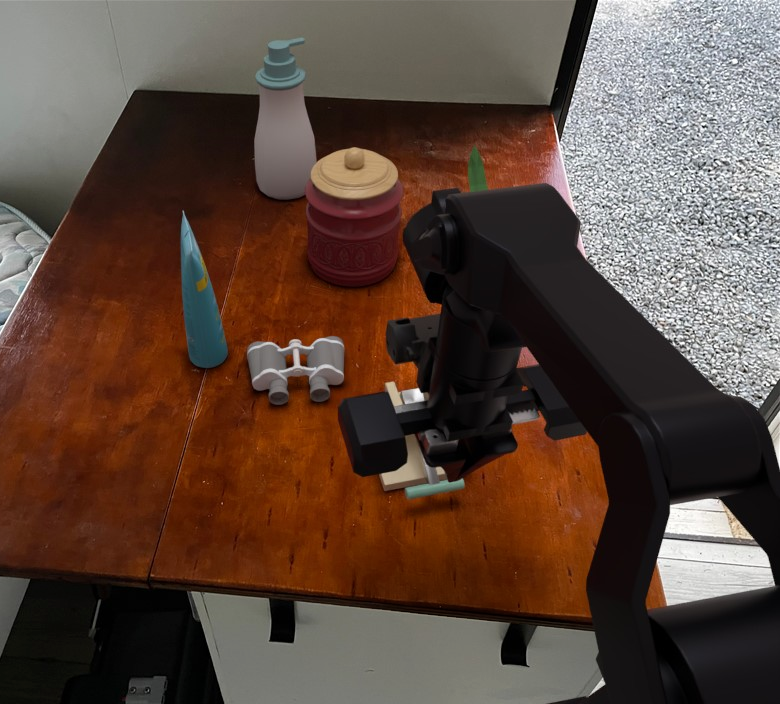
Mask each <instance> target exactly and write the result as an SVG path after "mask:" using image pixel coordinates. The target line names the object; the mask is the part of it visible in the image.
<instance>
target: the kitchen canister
mask: <svg viewBox="0 0 780 704" xmlns="http://www.w3.org/2000/svg"><path fill="white" fill-rule="evenodd" d="M304 196H305V199H306V201H307V204H306V205H305V206H306V207H305V218H306V225H307V244H306V254H307V255H306V256H307V259H308V263H309V265H310V269H312V271H313V272H314V273H315V274H316V276H318V277H319V278H321V280H324V281H326V282H328V283H330V284H333V285H337V286H341V287H342V286H343V287H350V288H351V287H355V288H356V287H364V286H368V285H369V286H370V285H373V284H376V283H378V282H381V281H382V280H383V279H385V278H386V277H388V276H389V275H390V274H391V273H392V272H393V271H394V268H395V266H396V263H397V261H398V257H399V251H400V245H399V234H400V223H401V219H402V214H403V213H402V206H401V204H400V203H401V201H402V199H403V196H404V186H403V184H402V182H401V180H400V178H399V172H398V169H397V167H396V165H395V164H394V163H393V161H392V160H390V159H388V158H387V157H385V156H383V155H381V154H379V153H377V152H375V151H372V150H369V149H365V148H360V147H354V146H353V147H350V148H345V149H340V150H336V151H334V152H332V153H330V154H328V155H326V156H324V157H322V158H320V159H319V160H318V161H316V164H315V165H314V166H313V168H312V170H311V178H310V179H309V180H308V182H307V184H306V186H305V195H304Z"/></svg>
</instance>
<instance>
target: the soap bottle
mask: <svg viewBox="0 0 780 704" xmlns="http://www.w3.org/2000/svg"><path fill="white" fill-rule="evenodd" d="M305 43H306V39H305V38H304V37H302V36H301V37H298V38H293V39H289V40H282V39H277V40H276V39H275V40H272V41H270V42H269V43H268V44H267V50H268V54H267V55H265V56H264V58H263V67H261V68H260V69H259V70H257V71H256V74H255V76H254V79H255V82H256V83H257V84H258V91H259V109H258V110H259V111H258V117H257V124H256V128H255V135H254V147H253V148H254V170H255V180H256V183H257V186H258V188H259V191H261V192H262V193H263V194H264V195H266V196H267V197H269V198H272V199H276V200H285V201H287V200H296V199H299V198H302V197H304V196H305V186H306V184H307V182H308V180H309V179H310V178H311V170H312V168H313V166H314V165H315V164H316V163H317V150H316V142H315V135H314V132H313V128H312V125H311V121H310V119H309V115H308V111H307V108H306V104H305V93H304V82H305V81H306V77H307V74H306V72H305V70H304V69H303V68H302V67H300V66H298V65H296V64H297V63H296V57H295V54H293V53H291V52H290V49H291V48H292V47H297V46H301V45H305Z"/></svg>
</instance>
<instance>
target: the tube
mask: <svg viewBox="0 0 780 704" xmlns="http://www.w3.org/2000/svg"><path fill="white" fill-rule="evenodd" d="M204 260H205V259H204V258H203V255H202V252H201V250H200V247H199V245H198V241H197V240H196V238H195V235H194V232H193V230H192V228H191V225H190V223H189V221H188V219H187V217H186V214H185V211H184V210H182V219H181V226H180V273H181V274H180V275H181V295H182V308H183V319H184V328H185V335H186V343H187V350H188V357H189V360H190V362H191V363H192V364H193V365H194V366H196V367H199V368H202V369H212V368H215V367H217V366H220V365H221V364H223V363H224V362H225V360H226V359H227V357H228V355H229V350H228V344H227V341H226V340H227V339H226V336H225V330H224V327H223V323H222V318H221V314H220V310H219V305H218V303H217V299H216V294H215V292H214V289H213V285H212V281H211V279H210V276H209V273H208V269H207V267H206V263H205V261H204Z"/></svg>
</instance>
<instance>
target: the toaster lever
mask: <svg viewBox="0 0 780 704" xmlns="http://www.w3.org/2000/svg"><path fill="white" fill-rule="evenodd" d="M400 392H401V393H400V395H399V396H400V398H401V401H402V403H403V405H404V404H409V403H415V402H421V401H425V399H424V395H423V393H421V392H420V390H419V387H417V388H411V389H405V390H400ZM414 436H415V434H414ZM415 440H416V444H417V448H418V451H419V455H420V459H421V463H422V467H423V471H424V474H425V478H426V482H427V483H424V484H419V485H414V486H409V487H404V495H405V498H406V499H407V500H408V501H409V500H414V499H415V500H416V499H419V498H425V497H430V496H435V495H439V494H440V495H441V494H445V493H450V492H455V491H459V490H465V488H466V485H465V480H464V478H462V479H460V480H459V481H456V482H450V483H449V482H448V480H447V479H445V480H440V481H439V478H438V474H437V470H436V468H432V467H429V466H428V465H427V464H426V463H425V460H424V457H423V455H422V452H421V450H420V447H419V445H418V442H417V439H416V437H415Z"/></svg>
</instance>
